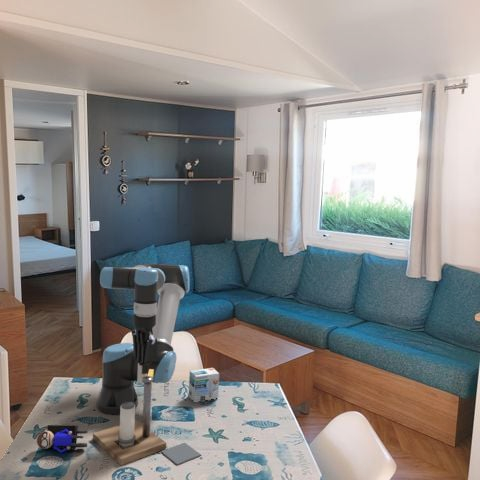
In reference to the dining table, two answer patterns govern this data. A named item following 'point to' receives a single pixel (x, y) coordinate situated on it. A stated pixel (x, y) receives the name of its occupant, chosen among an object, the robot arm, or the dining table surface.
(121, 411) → the plug
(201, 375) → the light bulb box
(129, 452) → the socket board
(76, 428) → the character figurine
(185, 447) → the mat
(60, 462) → the dining table surface
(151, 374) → the bar
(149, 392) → the post
